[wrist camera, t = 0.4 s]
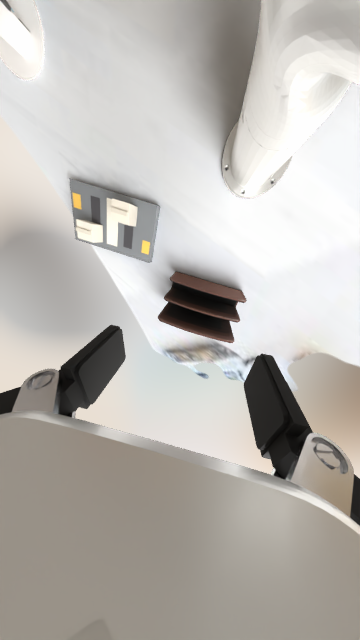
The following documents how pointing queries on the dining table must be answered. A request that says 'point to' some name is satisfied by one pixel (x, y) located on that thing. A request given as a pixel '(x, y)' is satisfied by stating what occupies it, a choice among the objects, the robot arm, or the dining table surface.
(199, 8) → the dining table surface
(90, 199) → the switch panel
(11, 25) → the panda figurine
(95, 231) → the switch tab
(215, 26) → the dining table surface
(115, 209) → the switch tab
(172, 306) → the letter holder
